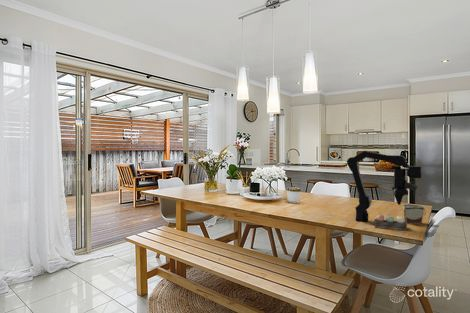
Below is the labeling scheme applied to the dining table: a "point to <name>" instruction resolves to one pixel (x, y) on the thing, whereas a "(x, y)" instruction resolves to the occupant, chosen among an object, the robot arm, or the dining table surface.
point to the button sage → (390, 219)
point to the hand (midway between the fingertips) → (399, 204)
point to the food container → (413, 213)
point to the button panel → (390, 225)
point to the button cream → (400, 220)
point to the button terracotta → (380, 218)
